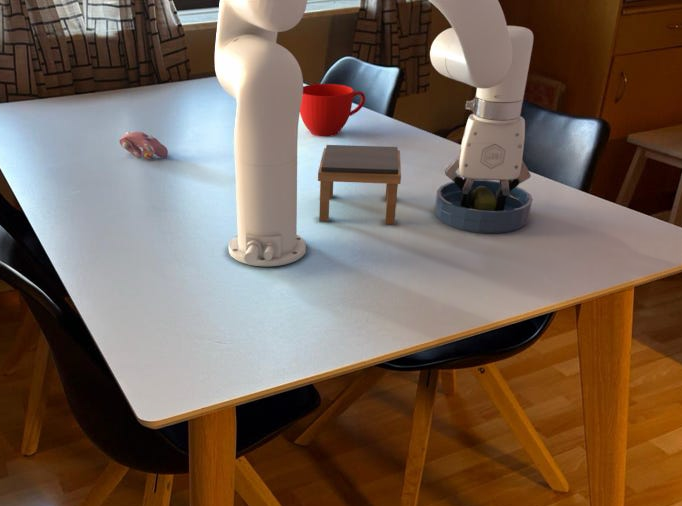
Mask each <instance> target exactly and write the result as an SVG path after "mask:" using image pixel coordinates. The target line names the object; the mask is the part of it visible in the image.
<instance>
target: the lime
mask: <svg viewBox="0 0 682 506" xmlns="http://www.w3.org/2000/svg"><path fill="white" fill-rule="evenodd" d="M470 206H471V208H472V209H475V210H482V211H494V210H495V209H496V206H497V201H496V199H495V197H494V195H493V193H492V192H491V191H490V190H489V189H488V188H487V187H485V186H479V187H477V188H476V189H475V190H474V191H473V192H472V198H471V205H470Z"/></svg>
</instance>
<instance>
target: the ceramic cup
mask: <svg viewBox="0 0 682 506" xmlns="http://www.w3.org/2000/svg"><path fill="white" fill-rule="evenodd" d="M357 95H360V97H361V99H360V102H359V104H358V105H357V107H355V108H354V109H352V108H353V107H352V106H353V99H354V98H355V97H356V96H357ZM365 102H366V95H365V93H364V92H363V91H361V90H356V91H354V89H353V88H352V87H350V86H348V85H343V84H338V83H337V84H336V83H315V84H307V85H303V95H302V102H301V108H300V114H299V116H300V118H301V121H302V122H303V124H304V126H305V127H306V129H307V131H309V132H310V134H311V135H312V136H314V137H315V136H316V137H322V138H323V137H327V138H328V137H334V136H337V135H339V133H340V131H341V130H342V129H343V128H344V127H345V125H346V124H347V122H348V120H349V118H350V116H353V115H354V114H356V113H357V112H359V111H361V109H362V108H363V107H364V104H365Z"/></svg>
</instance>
